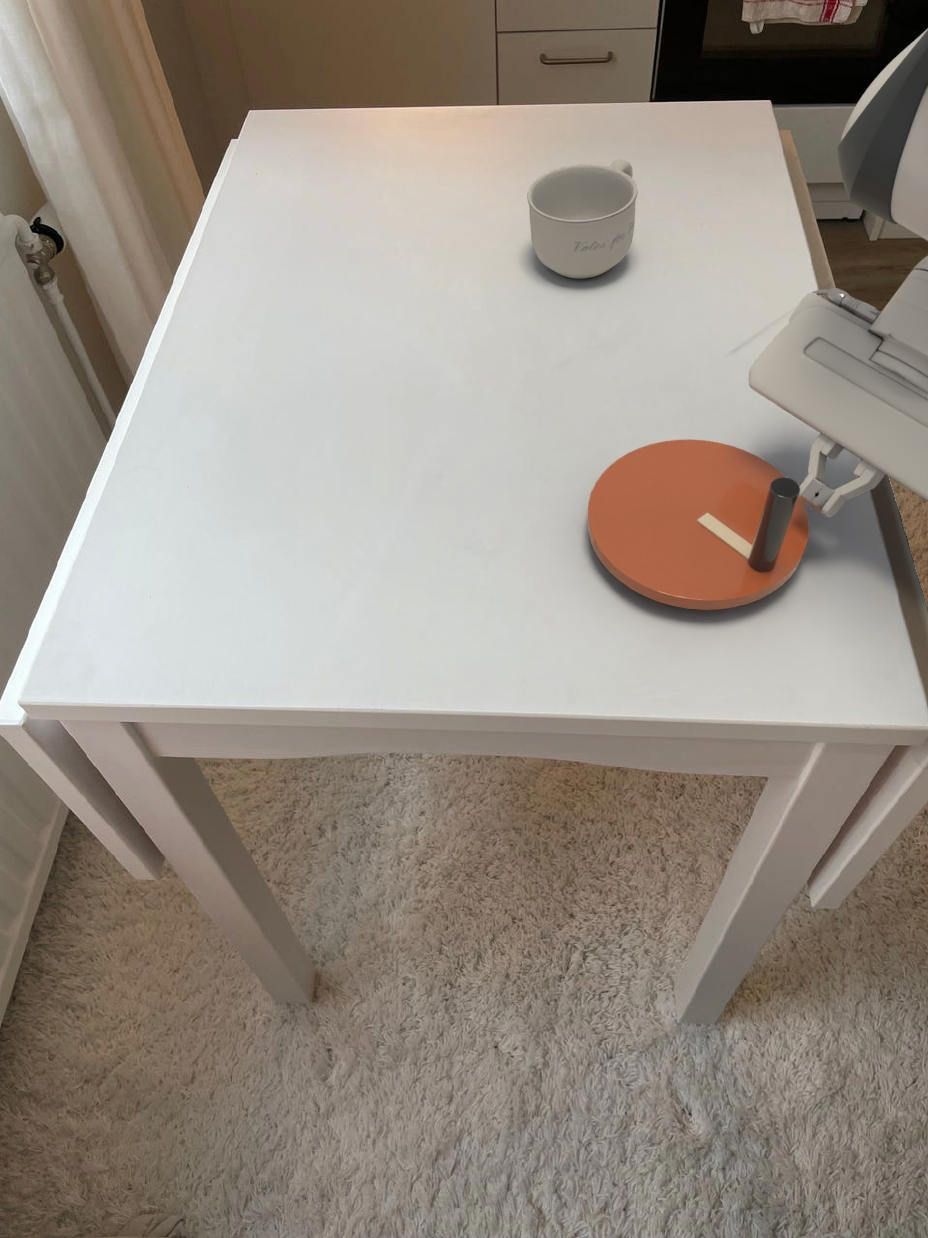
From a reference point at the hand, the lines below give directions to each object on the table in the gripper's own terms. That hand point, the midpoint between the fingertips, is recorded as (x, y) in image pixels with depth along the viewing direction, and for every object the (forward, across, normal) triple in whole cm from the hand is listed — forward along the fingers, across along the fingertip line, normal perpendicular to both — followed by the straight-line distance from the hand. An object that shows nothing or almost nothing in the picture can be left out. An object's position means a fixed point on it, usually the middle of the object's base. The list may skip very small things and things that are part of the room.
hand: (812, 506), depth 71 cm
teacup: (-7, -41, +15) cm, 44 cm away
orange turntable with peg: (+6, -6, -1) cm, 9 cm away
